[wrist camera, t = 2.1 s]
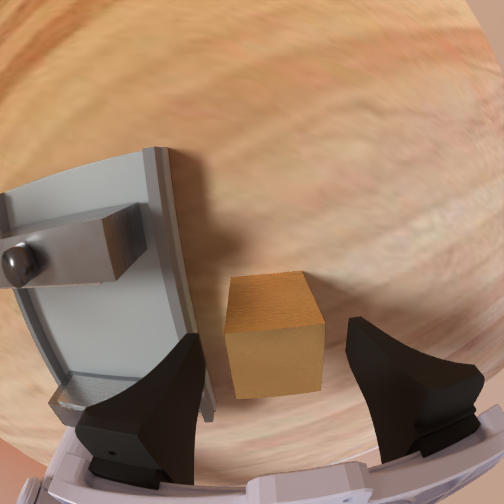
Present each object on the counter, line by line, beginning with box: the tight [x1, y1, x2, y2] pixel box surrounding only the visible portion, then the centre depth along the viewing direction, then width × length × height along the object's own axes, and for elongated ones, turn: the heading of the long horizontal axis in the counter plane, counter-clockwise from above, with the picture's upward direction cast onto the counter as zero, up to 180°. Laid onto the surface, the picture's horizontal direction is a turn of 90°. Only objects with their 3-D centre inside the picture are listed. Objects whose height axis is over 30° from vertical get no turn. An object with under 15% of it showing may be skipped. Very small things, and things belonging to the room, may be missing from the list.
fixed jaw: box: [48, 370, 142, 428], centre depth 16 cm, size 3×10×4 cm, turn 95°
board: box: [0, 147, 216, 422], centre depth 15 cm, size 18×13×2 cm
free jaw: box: [0, 202, 147, 289], centre depth 11 cm, size 3×10×5 cm, turn 95°
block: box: [224, 271, 326, 399], centre depth 14 cm, size 4×4×6 cm
